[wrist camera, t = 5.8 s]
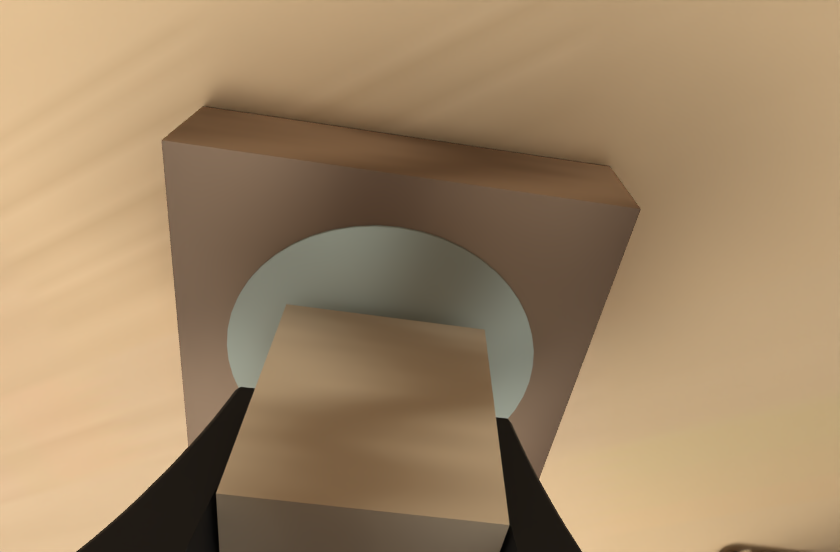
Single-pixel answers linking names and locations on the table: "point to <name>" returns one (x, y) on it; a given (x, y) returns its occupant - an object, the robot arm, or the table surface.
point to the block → (366, 441)
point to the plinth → (387, 251)
